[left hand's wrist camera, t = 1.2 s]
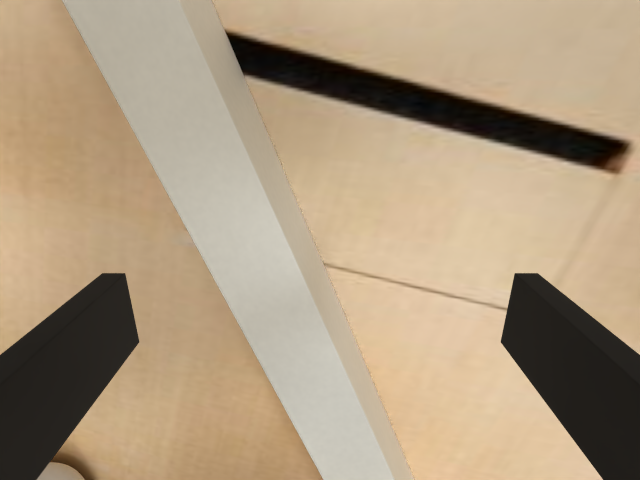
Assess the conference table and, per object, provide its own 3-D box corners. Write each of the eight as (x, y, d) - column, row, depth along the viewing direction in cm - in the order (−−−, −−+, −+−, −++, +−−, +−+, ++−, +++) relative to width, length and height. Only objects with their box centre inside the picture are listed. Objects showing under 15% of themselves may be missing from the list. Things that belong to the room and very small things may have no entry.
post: (107, -45, 24) (-1, -114, 16) (177, -81, 24) (101, -174, 16) (382, 518, 44) (395, 612, 36) (426, 507, 43) (449, 602, 35)
